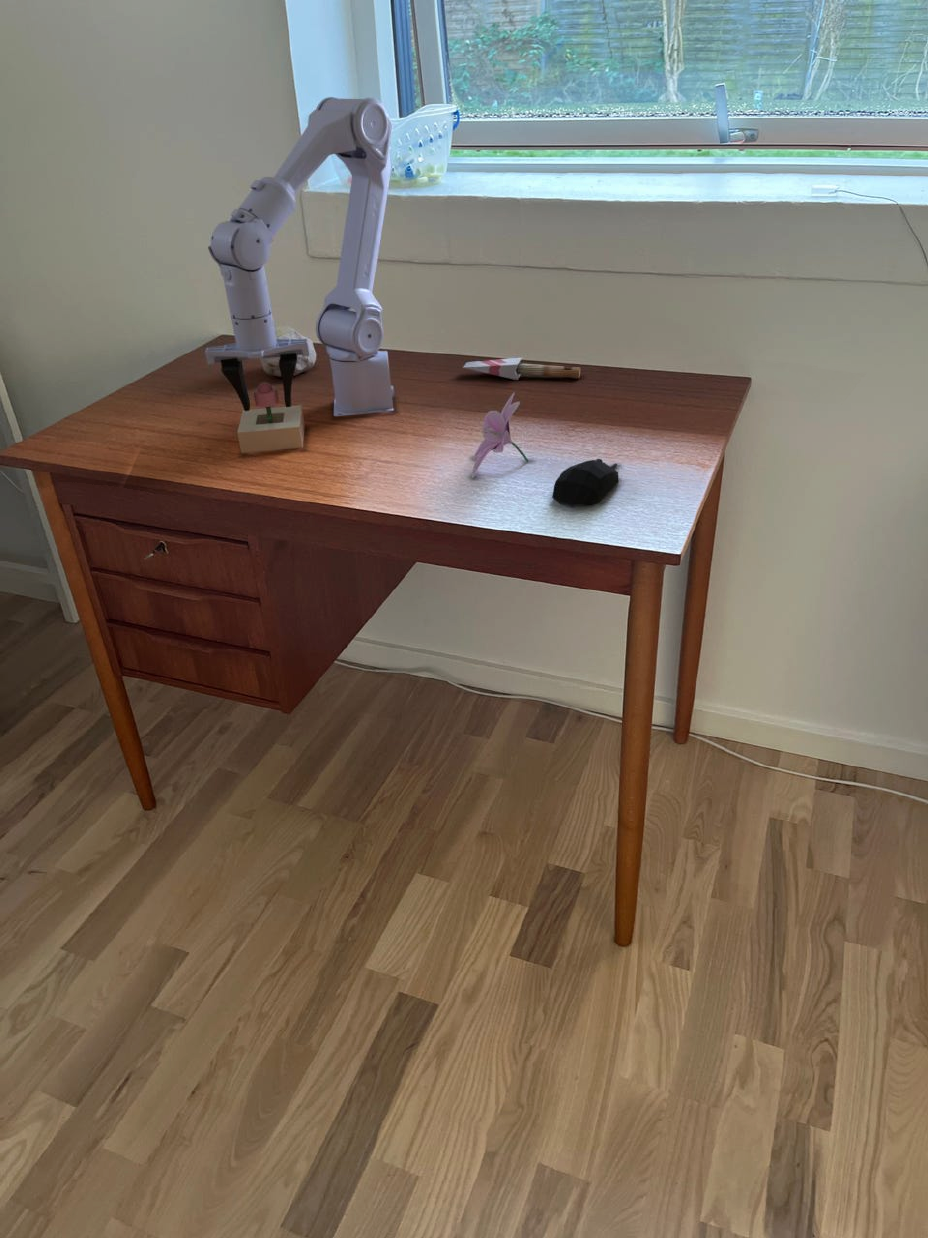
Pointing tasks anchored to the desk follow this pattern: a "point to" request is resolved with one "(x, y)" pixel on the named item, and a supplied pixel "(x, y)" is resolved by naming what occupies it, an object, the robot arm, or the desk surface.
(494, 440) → the lily
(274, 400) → the flower
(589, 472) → the gaming mouse
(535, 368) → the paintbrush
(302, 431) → the beige square socket block
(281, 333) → the white rock
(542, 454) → the desk surface
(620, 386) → the desk surface
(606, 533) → the desk surface
